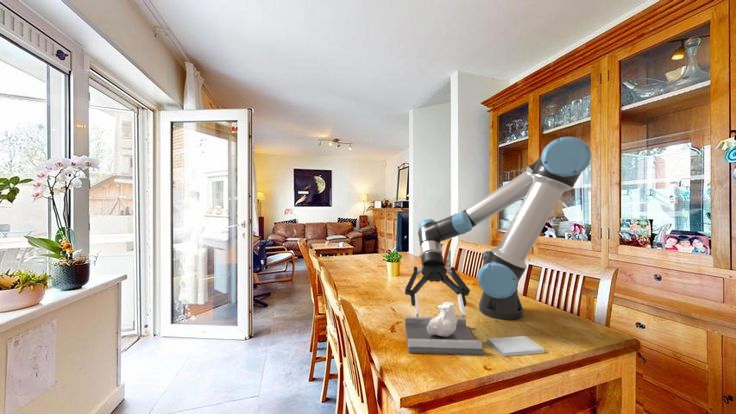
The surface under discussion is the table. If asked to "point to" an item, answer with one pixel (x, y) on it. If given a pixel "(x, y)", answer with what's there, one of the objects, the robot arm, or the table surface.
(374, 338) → the table surface
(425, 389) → the table surface
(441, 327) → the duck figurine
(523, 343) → the hard drive
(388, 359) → the table surface
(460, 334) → the rail plate
